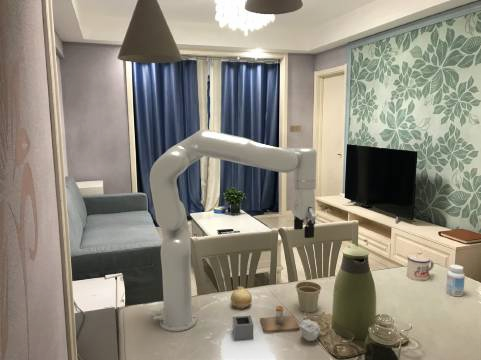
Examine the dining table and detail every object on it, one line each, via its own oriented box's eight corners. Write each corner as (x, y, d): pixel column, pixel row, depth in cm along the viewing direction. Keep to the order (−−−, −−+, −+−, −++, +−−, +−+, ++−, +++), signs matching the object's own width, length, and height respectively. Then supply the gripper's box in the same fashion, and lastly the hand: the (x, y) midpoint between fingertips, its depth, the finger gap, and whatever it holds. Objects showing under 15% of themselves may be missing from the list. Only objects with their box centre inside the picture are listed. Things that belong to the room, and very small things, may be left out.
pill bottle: (463, 292, 157) (466, 265, 155) (462, 298, 152) (465, 270, 150) (446, 288, 160) (448, 262, 158) (444, 294, 155) (447, 267, 153)
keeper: (264, 333, 129) (264, 314, 128) (259, 320, 137) (259, 303, 136) (299, 330, 130) (300, 312, 129) (293, 318, 138) (293, 301, 137)
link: (234, 340, 125) (234, 326, 124) (232, 330, 131) (232, 316, 130) (253, 339, 125) (253, 324, 125) (250, 329, 131) (250, 315, 130)
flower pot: (321, 316, 139) (321, 293, 138) (294, 313, 141) (294, 291, 140) (321, 303, 148) (321, 282, 147) (295, 301, 150) (296, 280, 149)
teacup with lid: (414, 282, 167) (416, 256, 165) (401, 273, 176) (403, 248, 174) (439, 279, 169) (441, 253, 167) (425, 271, 178) (427, 246, 176)
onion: (255, 303, 149) (255, 285, 148) (245, 312, 142) (245, 294, 141) (237, 298, 153) (236, 281, 152) (226, 307, 146) (226, 289, 145)
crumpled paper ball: (294, 339, 125) (295, 319, 124) (309, 332, 129) (310, 312, 128) (309, 348, 120) (309, 327, 119) (324, 340, 125) (324, 320, 123)
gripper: (285, 180, 140) (284, 227, 143) (303, 189, 124) (302, 242, 127) (305, 179, 142) (304, 225, 145) (325, 188, 125) (324, 240, 128)
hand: (303, 233), depth 136 cm, fingers open, 9 cm apart
